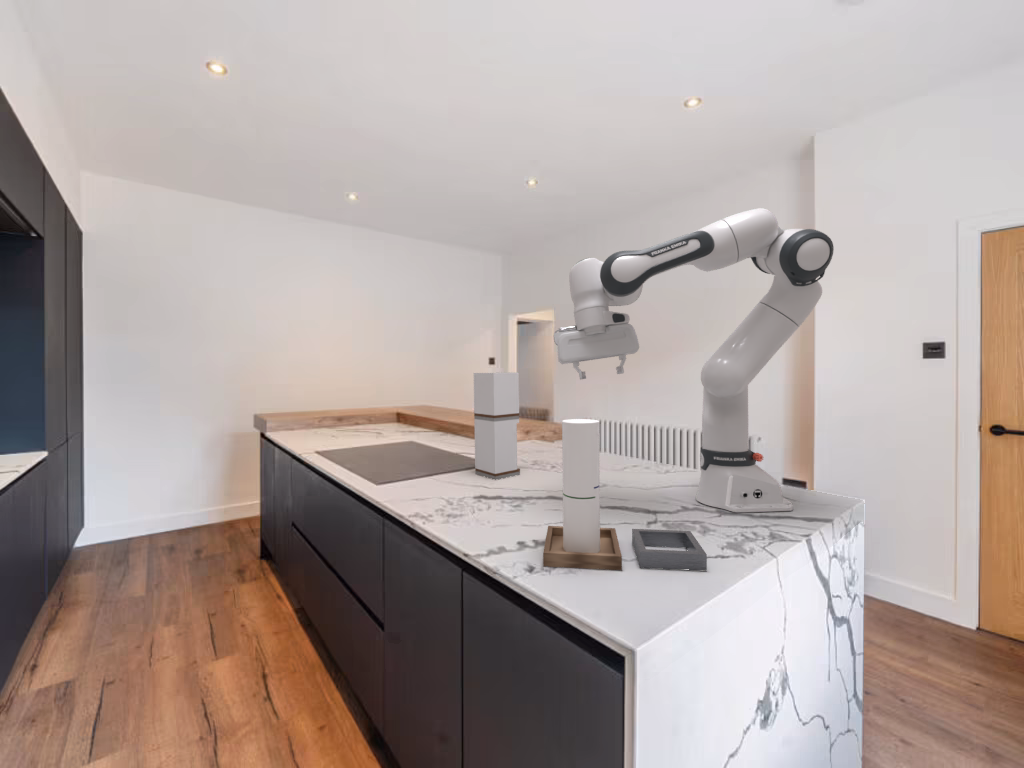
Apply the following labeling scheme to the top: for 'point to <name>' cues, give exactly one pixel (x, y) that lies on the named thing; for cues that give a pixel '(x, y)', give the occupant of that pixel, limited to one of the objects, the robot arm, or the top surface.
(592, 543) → the cylindrical container
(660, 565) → the gray square tray
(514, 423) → the banded white pillar
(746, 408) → the robot arm
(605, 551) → the walnut tray
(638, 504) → the top surface
